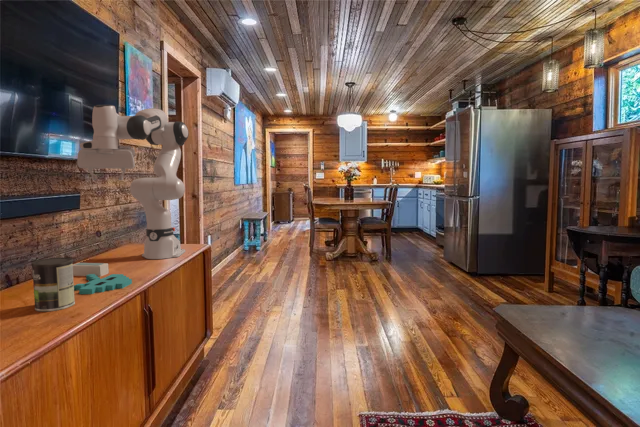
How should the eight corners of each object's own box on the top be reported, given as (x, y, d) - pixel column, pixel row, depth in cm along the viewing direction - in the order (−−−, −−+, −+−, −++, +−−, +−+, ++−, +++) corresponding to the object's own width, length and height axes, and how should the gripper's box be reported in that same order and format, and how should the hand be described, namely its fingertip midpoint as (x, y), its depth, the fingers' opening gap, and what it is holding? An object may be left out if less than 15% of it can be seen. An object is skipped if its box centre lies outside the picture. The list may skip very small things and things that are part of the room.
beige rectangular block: (70, 276, 154) (69, 265, 153) (79, 273, 159) (78, 262, 158) (100, 277, 152) (100, 265, 152) (108, 273, 157) (108, 262, 157)
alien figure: (53, 295, 130) (111, 295, 129) (52, 288, 129) (111, 289, 129) (89, 279, 149) (140, 279, 149) (89, 274, 149) (140, 274, 149)
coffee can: (38, 314, 110) (34, 266, 109) (32, 306, 117) (28, 260, 116) (79, 306, 117) (76, 260, 116) (71, 298, 125) (68, 255, 123)
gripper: (135, 146, 160) (137, 180, 161) (79, 145, 153) (81, 179, 155) (133, 145, 154) (135, 180, 155) (75, 143, 147) (77, 179, 149)
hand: (107, 180), depth 155 cm, fingers open, 8 cm apart
